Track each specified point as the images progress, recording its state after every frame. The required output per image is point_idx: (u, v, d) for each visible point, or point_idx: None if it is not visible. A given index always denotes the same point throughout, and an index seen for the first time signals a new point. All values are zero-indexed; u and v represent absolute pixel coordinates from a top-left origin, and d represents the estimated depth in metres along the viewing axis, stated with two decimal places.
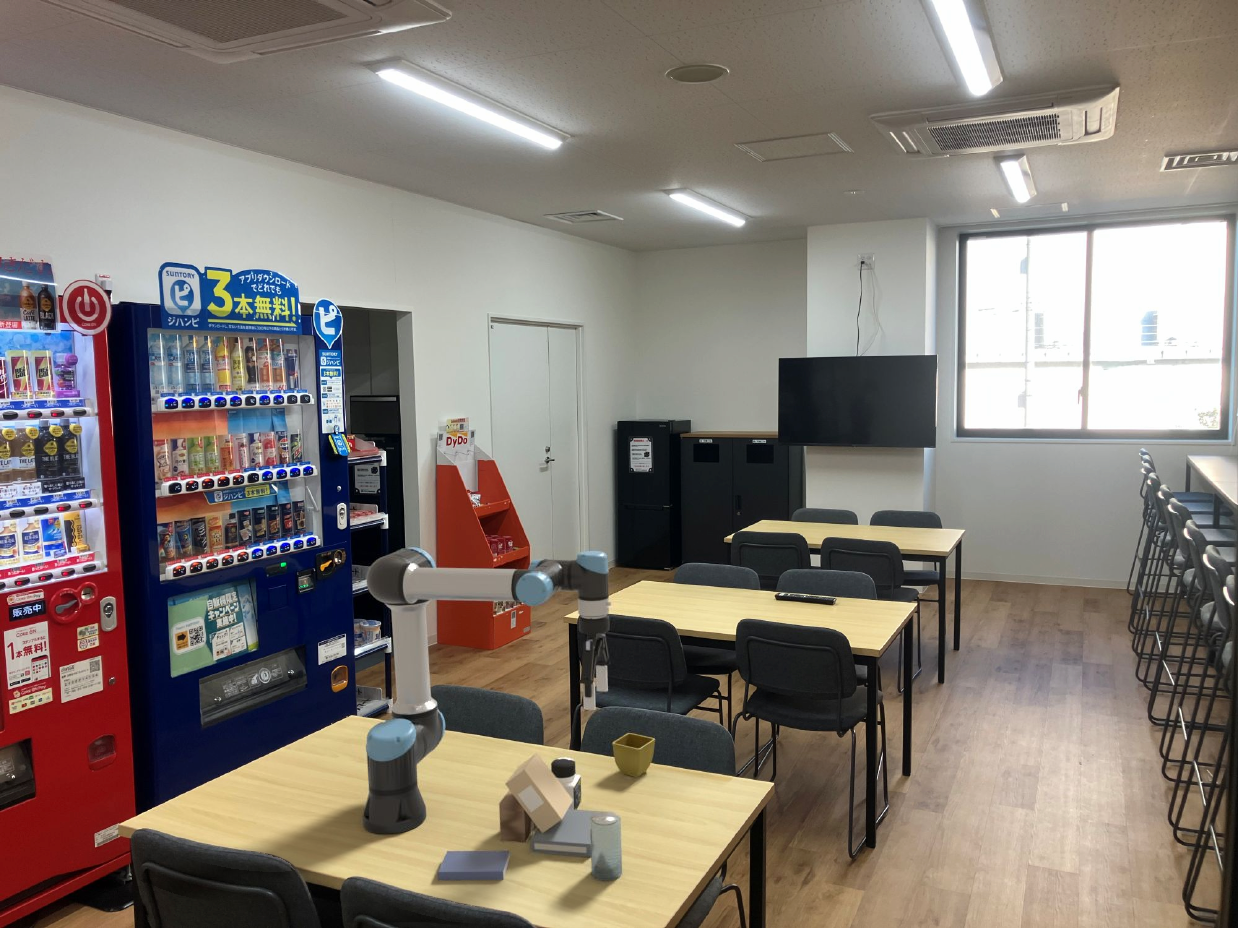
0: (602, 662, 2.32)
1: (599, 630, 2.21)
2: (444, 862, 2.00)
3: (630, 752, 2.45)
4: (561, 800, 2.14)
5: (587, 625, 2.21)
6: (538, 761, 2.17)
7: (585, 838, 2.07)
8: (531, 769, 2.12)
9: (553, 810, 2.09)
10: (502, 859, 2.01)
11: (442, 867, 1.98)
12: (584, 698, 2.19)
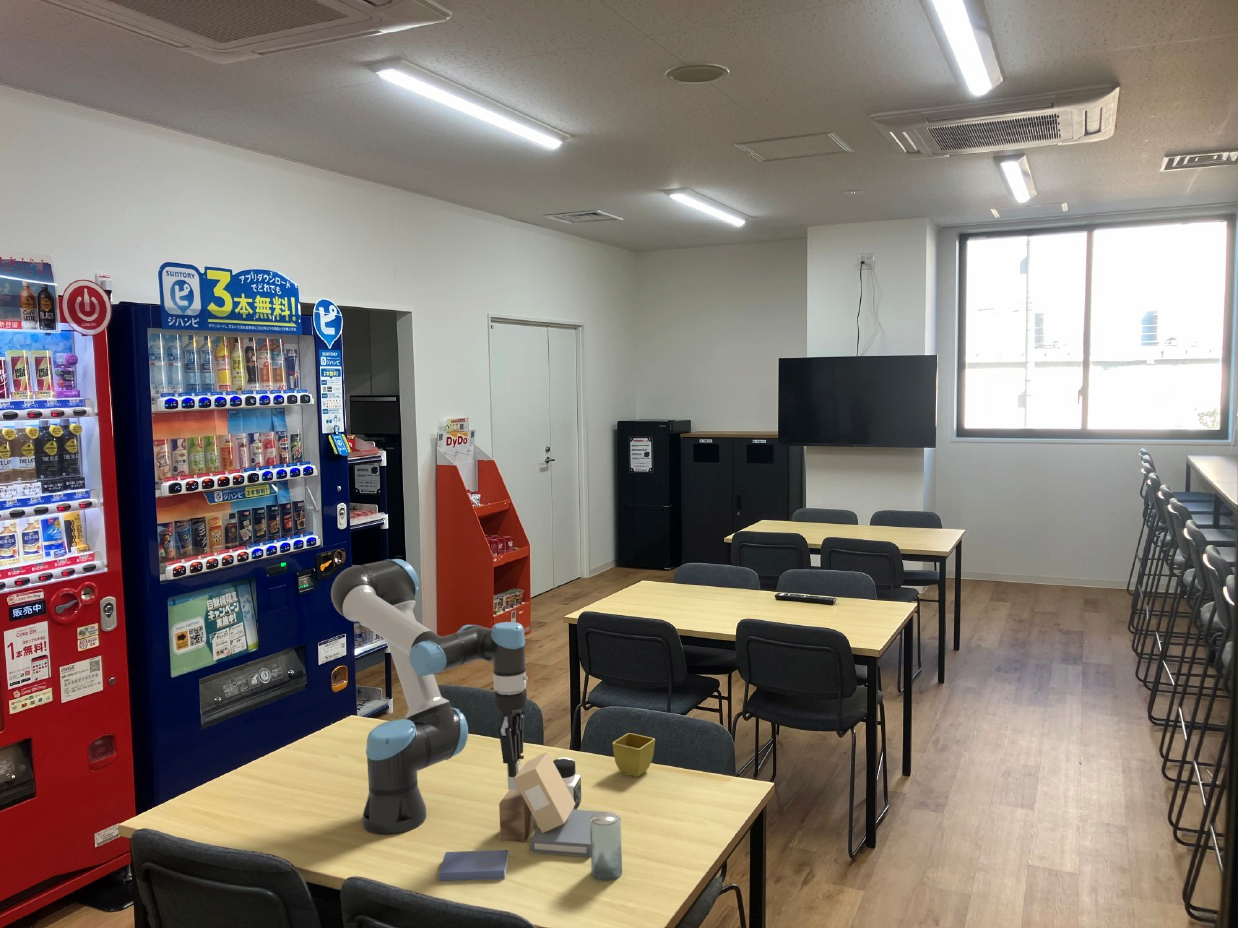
0: None
1: (514, 707, 2.11)
2: (444, 863, 2.00)
3: (630, 752, 2.45)
4: (565, 803, 2.14)
5: (502, 701, 2.11)
6: (548, 761, 2.17)
7: (585, 838, 2.07)
8: (541, 768, 2.12)
9: (557, 813, 2.09)
10: (502, 859, 2.01)
11: (442, 868, 1.98)
12: (508, 777, 2.15)
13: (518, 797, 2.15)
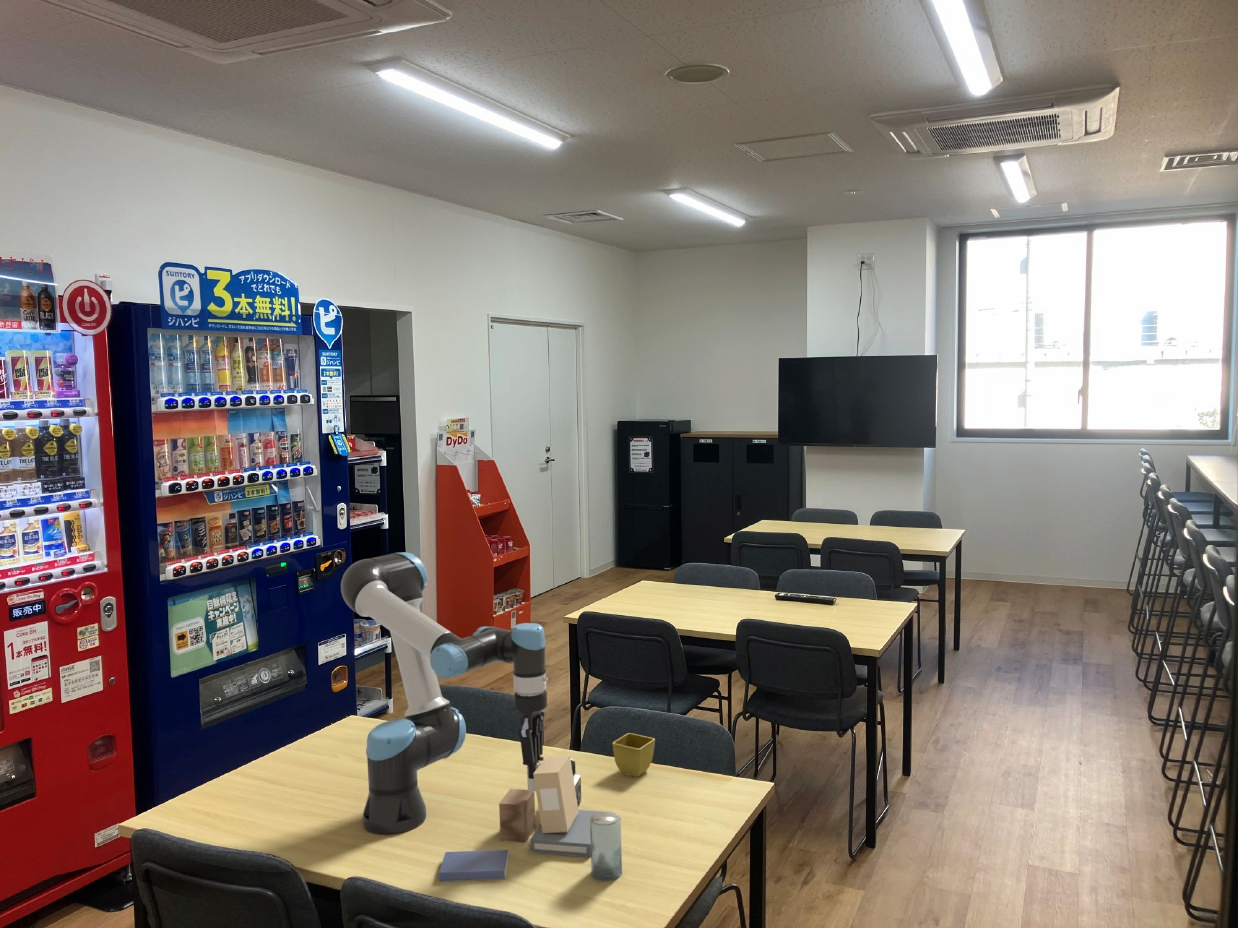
0: None
1: (535, 708, 2.10)
2: (444, 863, 2.00)
3: (630, 752, 2.45)
4: (571, 810, 2.14)
5: (522, 703, 2.10)
6: (568, 765, 2.16)
7: (585, 838, 2.07)
8: (562, 773, 2.11)
9: (564, 820, 2.09)
10: (502, 859, 2.01)
11: (442, 868, 1.98)
12: (528, 779, 2.14)
13: (518, 797, 2.15)
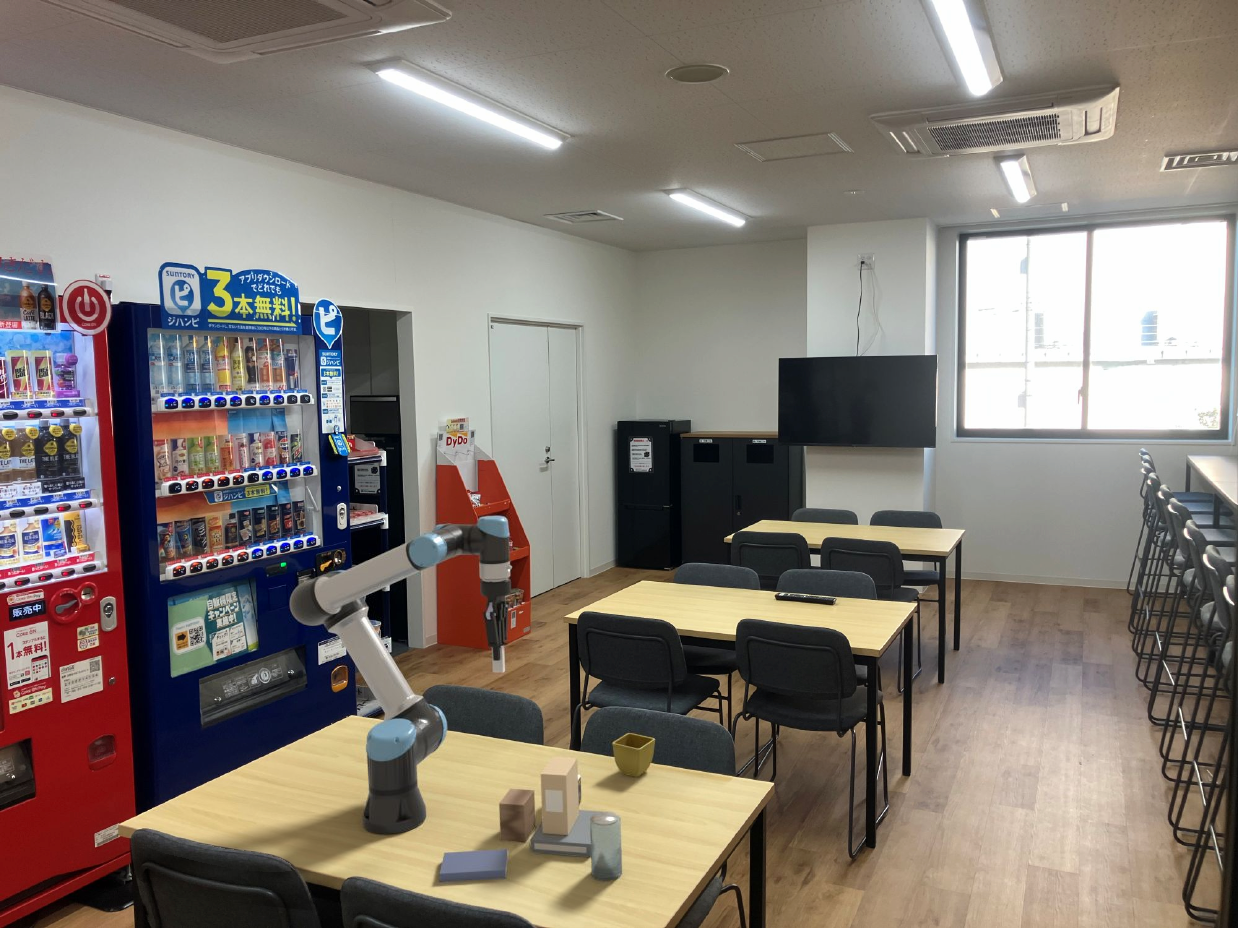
0: None
1: (499, 593, 2.24)
2: (444, 864, 2.00)
3: (630, 752, 2.45)
4: (573, 814, 2.14)
5: (487, 588, 2.24)
6: (575, 768, 2.15)
7: (585, 838, 2.07)
8: (569, 776, 2.10)
9: (566, 823, 2.09)
10: (502, 858, 2.01)
11: (442, 869, 1.98)
12: (493, 661, 2.29)
13: (518, 797, 2.15)
